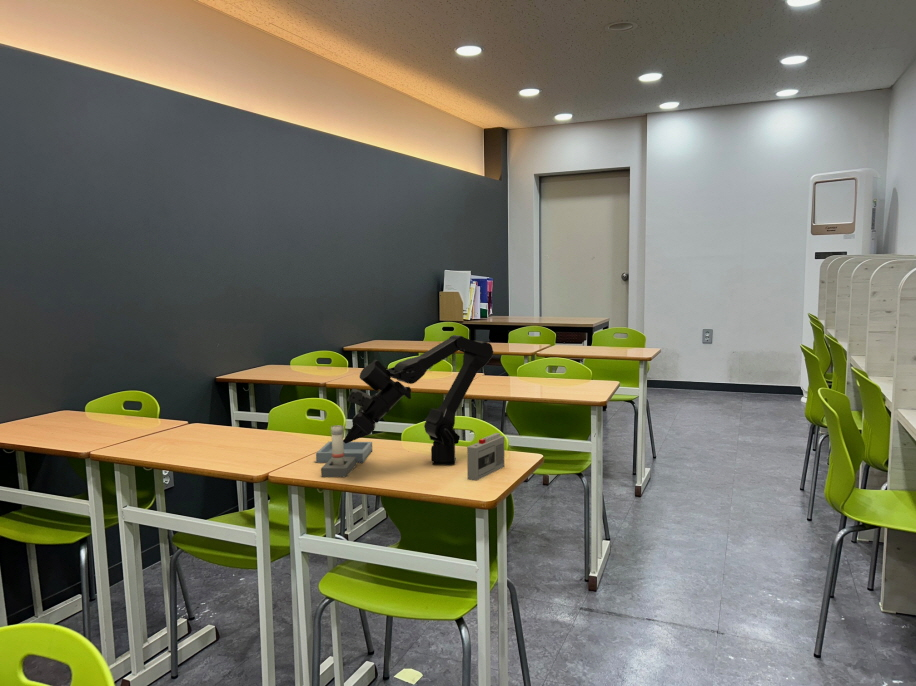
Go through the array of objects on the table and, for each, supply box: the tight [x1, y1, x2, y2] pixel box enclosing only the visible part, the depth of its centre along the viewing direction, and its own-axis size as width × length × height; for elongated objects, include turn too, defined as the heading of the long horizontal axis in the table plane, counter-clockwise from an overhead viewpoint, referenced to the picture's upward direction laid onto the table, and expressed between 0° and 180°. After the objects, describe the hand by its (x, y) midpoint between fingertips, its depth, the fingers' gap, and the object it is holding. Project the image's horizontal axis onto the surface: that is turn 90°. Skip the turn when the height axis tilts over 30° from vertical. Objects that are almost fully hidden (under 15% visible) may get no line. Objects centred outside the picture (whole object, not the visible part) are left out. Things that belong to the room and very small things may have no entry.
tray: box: [315, 440, 373, 464], centre depth 201 cm, size 14×14×3 cm
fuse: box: [330, 424, 344, 466], centre depth 184 cm, size 3×3×13 cm
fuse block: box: [320, 457, 357, 478], centre depth 186 cm, size 7×12×2 cm, turn 176°
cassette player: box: [466, 432, 505, 481], centre depth 183 cm, size 16×3×10 cm, turn 147°
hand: (346, 438), depth 184 cm, fingers open, 9 cm apart
